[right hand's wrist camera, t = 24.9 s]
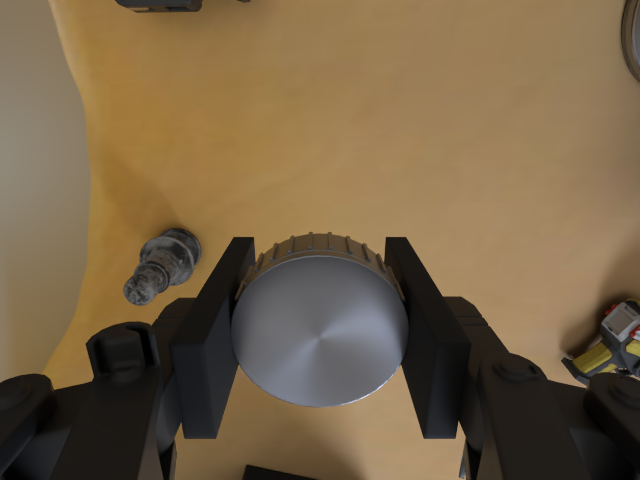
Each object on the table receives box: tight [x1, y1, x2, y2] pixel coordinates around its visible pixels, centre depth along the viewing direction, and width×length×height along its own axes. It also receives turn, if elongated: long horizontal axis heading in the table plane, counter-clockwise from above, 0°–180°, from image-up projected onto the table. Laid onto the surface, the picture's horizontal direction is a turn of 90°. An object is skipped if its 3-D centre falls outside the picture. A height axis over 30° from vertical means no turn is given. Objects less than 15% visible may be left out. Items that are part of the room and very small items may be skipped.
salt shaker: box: [123, 228, 201, 306], centre depth 38 cm, size 6×6×12 cm
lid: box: [230, 232, 409, 407], centre depth 11 cm, size 5×5×2 cm
